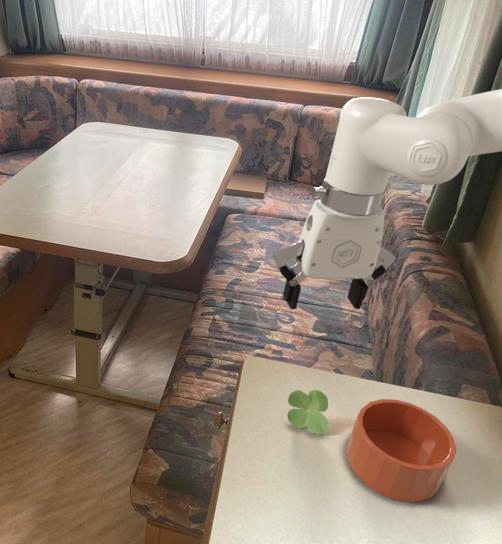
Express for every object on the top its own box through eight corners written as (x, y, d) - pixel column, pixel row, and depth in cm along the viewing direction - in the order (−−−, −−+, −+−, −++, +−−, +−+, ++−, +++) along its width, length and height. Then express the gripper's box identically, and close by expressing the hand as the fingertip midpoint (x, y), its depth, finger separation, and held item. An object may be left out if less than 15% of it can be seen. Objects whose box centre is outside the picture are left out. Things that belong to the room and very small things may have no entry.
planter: (416, 431, 93) (430, 400, 90) (456, 503, 82) (474, 470, 78) (335, 429, 93) (345, 397, 89) (364, 501, 82) (377, 468, 78)
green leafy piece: (301, 434, 98) (306, 445, 92) (273, 395, 99) (275, 403, 93) (336, 411, 97) (343, 420, 91) (307, 371, 98) (312, 378, 92)
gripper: (296, 208, 71) (271, 319, 80) (428, 210, 73) (389, 318, 82) (278, 184, 78) (257, 289, 87) (400, 186, 79) (367, 289, 88)
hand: (321, 303), depth 84 cm, fingers open, 9 cm apart
